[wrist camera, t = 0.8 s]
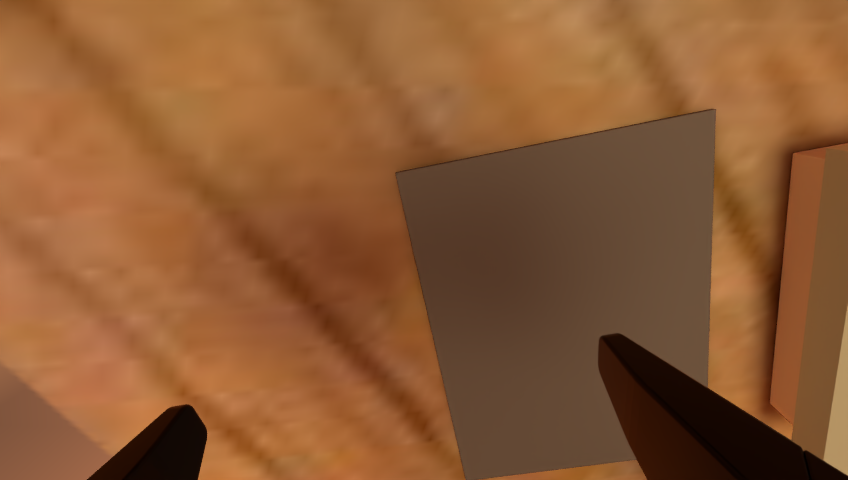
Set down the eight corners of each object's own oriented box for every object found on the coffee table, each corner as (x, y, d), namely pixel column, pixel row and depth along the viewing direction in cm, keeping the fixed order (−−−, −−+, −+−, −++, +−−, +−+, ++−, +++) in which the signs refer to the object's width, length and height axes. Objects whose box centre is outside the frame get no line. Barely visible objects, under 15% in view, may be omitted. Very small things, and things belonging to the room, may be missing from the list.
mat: (702, 447, 28) (705, 450, 27) (465, 477, 29) (466, 480, 29) (711, 109, 20) (716, 109, 20) (395, 172, 22) (395, 173, 22)
